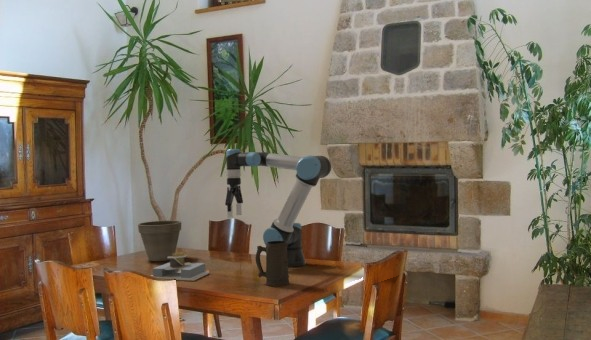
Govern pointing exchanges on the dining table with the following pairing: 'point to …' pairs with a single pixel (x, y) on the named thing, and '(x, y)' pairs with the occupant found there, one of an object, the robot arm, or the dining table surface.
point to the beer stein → (274, 263)
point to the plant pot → (160, 238)
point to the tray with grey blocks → (181, 272)
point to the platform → (177, 261)
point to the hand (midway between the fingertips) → (234, 216)
